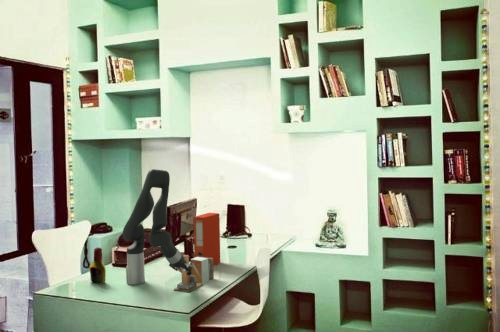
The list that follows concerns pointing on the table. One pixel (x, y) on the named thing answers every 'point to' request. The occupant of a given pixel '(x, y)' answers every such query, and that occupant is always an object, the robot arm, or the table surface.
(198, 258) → the small box
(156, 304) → the table surface
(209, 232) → the file binder
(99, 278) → the bottle
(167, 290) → the table surface
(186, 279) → the wooden post on base
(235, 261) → the table surface
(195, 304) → the table surface
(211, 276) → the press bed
